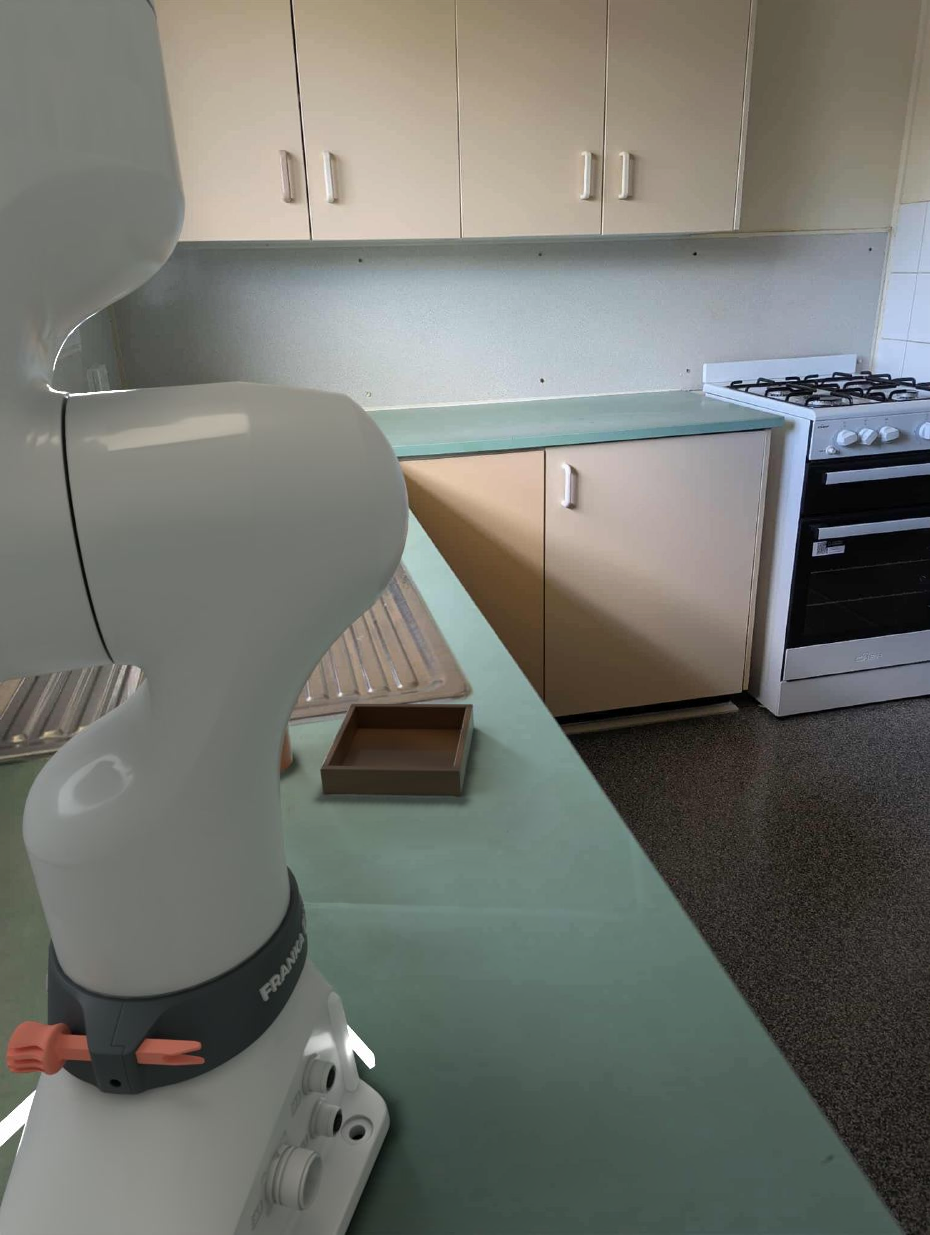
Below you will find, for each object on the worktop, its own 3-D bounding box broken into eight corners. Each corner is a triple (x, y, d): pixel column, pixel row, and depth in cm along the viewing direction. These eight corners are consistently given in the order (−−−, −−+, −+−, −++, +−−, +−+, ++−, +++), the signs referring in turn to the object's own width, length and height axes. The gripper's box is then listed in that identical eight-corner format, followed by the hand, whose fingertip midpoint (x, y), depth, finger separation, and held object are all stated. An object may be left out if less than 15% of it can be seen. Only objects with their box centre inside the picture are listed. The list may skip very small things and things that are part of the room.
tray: (461, 801, 76) (459, 770, 74) (323, 799, 77) (319, 768, 76) (474, 731, 87) (472, 704, 86) (353, 730, 88) (351, 703, 87)
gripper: (-78, 491, 66) (64, 615, 68) (84, 439, 85) (193, 538, 86) (-110, 546, 69) (28, 664, 70) (54, 484, 87) (160, 579, 89)
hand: (120, 594), depth 79 cm, fingers open, 8 cm apart
